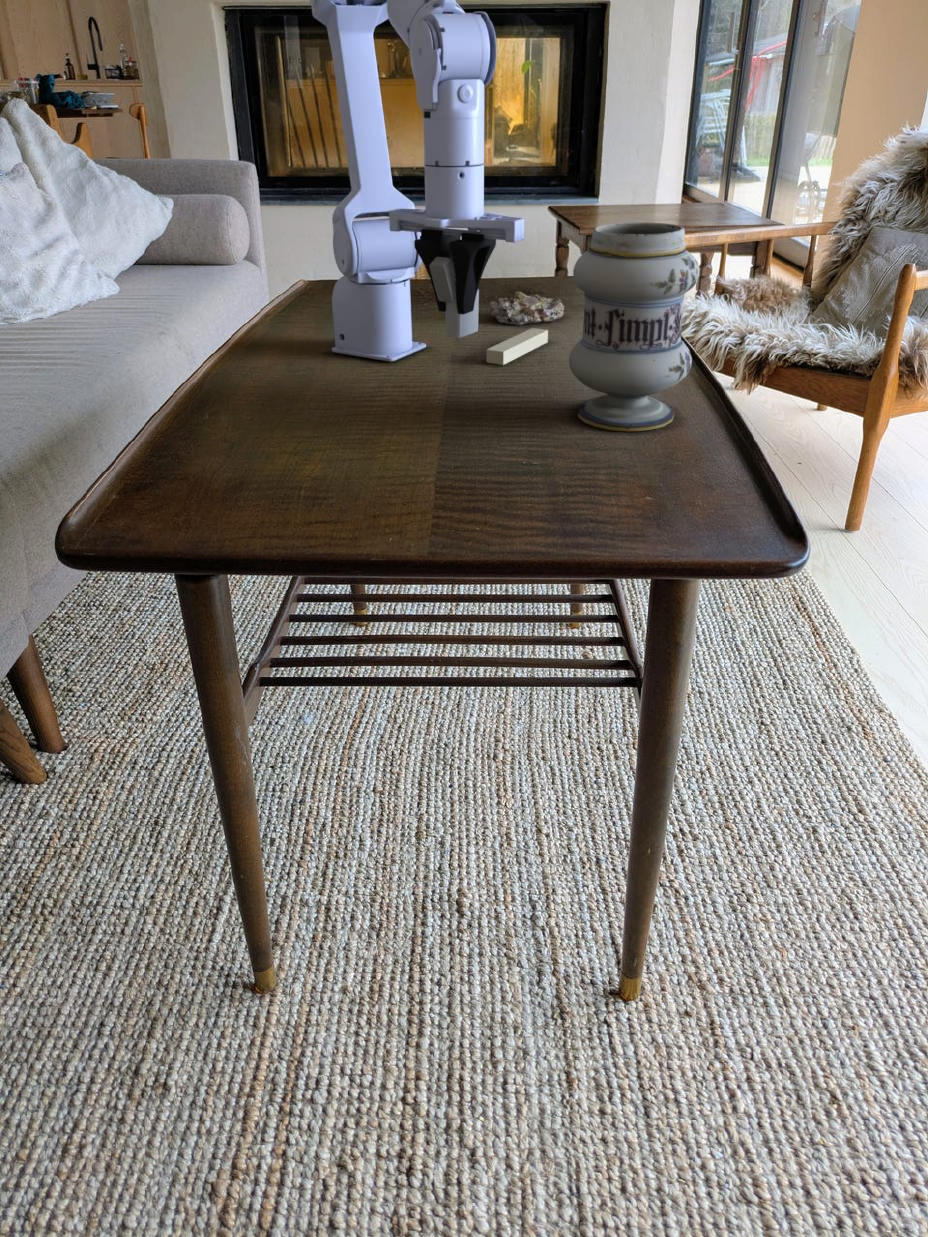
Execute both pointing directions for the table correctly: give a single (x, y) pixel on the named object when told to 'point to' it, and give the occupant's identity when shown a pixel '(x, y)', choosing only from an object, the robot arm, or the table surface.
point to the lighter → (452, 300)
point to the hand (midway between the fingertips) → (455, 310)
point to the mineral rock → (526, 309)
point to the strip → (516, 346)
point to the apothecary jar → (632, 323)
